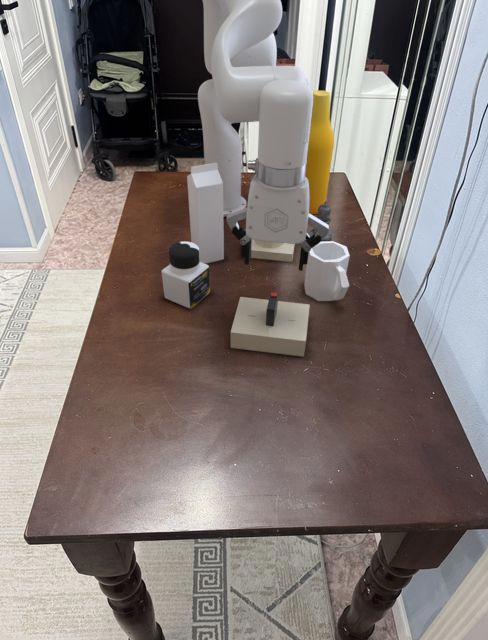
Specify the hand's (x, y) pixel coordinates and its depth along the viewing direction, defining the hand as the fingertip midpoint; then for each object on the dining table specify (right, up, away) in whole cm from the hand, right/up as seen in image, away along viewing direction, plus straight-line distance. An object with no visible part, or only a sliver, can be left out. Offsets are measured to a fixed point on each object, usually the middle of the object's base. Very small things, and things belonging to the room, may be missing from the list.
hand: (274, 263), depth 88 cm
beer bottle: (+12, +24, +47) cm, 54 cm away
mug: (+13, -4, +19) cm, 23 cm away
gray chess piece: (+13, +10, +33) cm, 36 cm away
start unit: (+1, +9, +32) cm, 33 cm away
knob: (0, -9, +6) cm, 11 cm away
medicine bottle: (-18, -4, +17) cm, 25 cm away
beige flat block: (0, -12, +9) cm, 15 cm away
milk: (-14, +7, +29) cm, 33 cm away
